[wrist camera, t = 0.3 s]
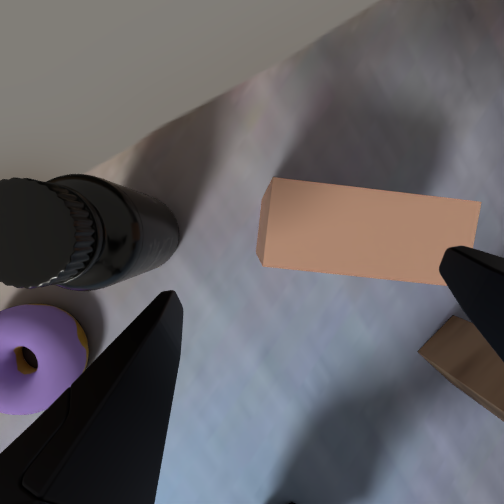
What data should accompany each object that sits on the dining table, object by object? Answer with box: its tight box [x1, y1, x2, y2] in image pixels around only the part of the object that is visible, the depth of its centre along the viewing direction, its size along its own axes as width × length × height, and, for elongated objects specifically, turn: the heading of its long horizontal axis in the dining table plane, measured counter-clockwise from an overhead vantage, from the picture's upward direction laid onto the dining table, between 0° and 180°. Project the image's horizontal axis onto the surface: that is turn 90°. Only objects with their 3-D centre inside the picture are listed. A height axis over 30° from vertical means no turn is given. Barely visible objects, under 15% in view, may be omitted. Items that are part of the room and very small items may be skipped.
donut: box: [0, 304, 89, 415], centre depth 21 cm, size 10×9×5 cm
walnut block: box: [418, 315, 504, 421], centre depth 20 cm, size 5×5×8 cm
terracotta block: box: [256, 177, 481, 286], centre depth 18 cm, size 5×12×9 cm, turn 84°
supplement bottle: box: [0, 174, 179, 291], centre depth 16 cm, size 7×7×12 cm
